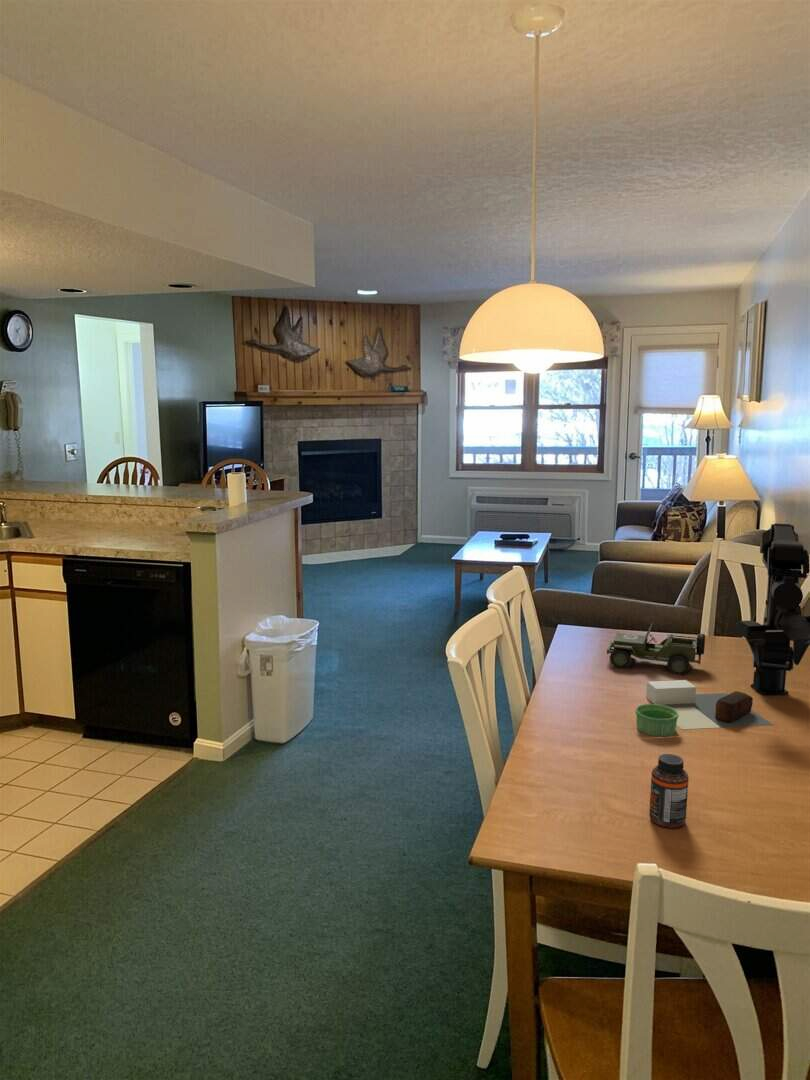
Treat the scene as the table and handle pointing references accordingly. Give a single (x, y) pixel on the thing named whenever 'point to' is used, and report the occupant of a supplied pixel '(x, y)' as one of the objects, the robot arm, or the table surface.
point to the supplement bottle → (669, 792)
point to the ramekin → (656, 719)
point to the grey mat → (710, 714)
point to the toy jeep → (657, 650)
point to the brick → (733, 706)
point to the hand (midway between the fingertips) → (777, 665)
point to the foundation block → (671, 692)
